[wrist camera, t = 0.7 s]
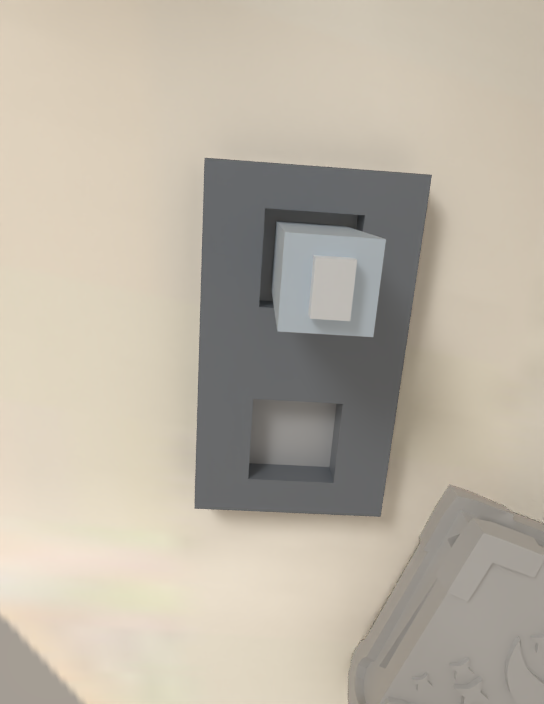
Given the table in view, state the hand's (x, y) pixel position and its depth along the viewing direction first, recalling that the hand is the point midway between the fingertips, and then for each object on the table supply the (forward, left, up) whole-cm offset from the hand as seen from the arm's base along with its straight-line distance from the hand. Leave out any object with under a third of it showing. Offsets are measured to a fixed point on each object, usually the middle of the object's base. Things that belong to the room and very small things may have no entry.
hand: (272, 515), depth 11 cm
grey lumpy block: (+24, +24, -22) cm, 41 cm away
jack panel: (+3, +2, -22) cm, 22 cm away
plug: (-3, +2, -21) cm, 22 cm away
